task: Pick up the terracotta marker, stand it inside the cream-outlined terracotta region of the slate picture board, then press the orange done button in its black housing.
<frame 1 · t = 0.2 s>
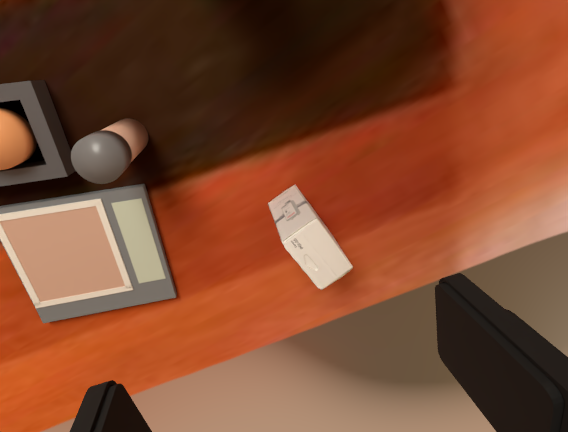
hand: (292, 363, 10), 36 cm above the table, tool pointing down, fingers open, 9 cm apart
marker: (130, 135, 40), on the table
picture board: (92, 254, 45), on the table
ink box: (297, 215, 48), on the table
button housing: (14, 133, 38), on the table
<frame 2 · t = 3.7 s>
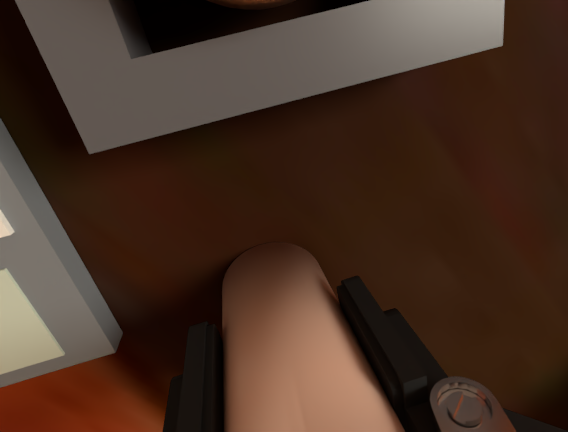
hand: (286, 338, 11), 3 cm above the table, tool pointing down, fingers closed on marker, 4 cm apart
marker: (273, 287, 13), on the table, touching gripper
when the fingers open (5 cm above the table, at t = 8.9 s): marker drops 1 cm, resting on picture board.
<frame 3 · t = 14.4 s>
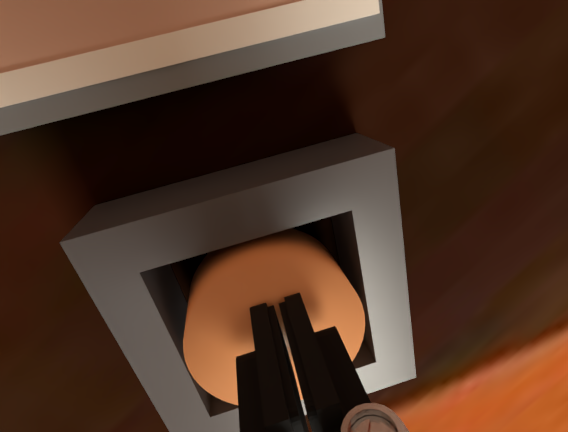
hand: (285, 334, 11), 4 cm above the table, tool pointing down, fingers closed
done button: (272, 316, 12), point 3 cm above the table, slide at 0.7 cm, touching gripper
button housing: (263, 277, 15), on the table
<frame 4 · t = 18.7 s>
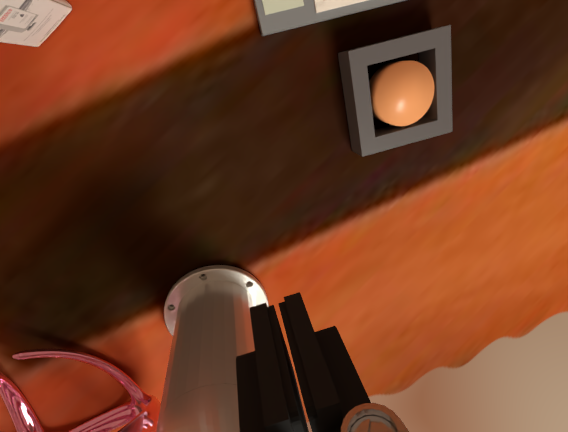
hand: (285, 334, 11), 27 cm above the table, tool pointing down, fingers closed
done button: (399, 93, 34), point 2 cm above the table, slide at 1.2 cm
spiral basket: (81, 399, 45), on the table
button housing: (390, 92, 36), on the table
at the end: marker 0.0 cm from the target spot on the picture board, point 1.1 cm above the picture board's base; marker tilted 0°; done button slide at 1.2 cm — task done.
